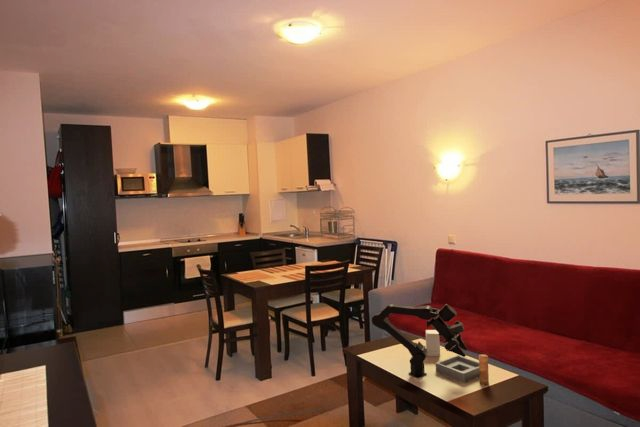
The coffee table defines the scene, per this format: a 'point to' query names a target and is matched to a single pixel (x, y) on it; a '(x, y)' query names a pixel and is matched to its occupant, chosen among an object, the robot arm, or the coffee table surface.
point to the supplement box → (432, 343)
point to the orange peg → (483, 369)
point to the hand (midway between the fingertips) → (465, 352)
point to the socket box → (454, 364)
